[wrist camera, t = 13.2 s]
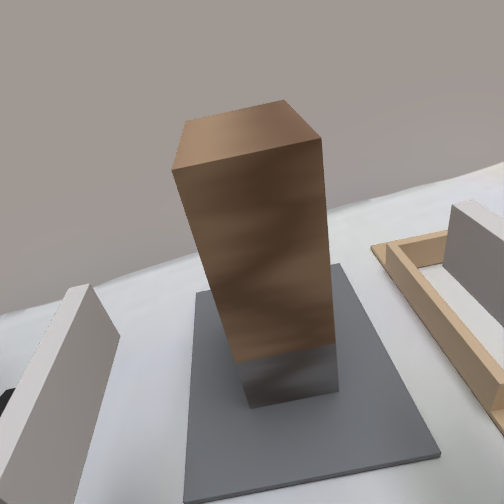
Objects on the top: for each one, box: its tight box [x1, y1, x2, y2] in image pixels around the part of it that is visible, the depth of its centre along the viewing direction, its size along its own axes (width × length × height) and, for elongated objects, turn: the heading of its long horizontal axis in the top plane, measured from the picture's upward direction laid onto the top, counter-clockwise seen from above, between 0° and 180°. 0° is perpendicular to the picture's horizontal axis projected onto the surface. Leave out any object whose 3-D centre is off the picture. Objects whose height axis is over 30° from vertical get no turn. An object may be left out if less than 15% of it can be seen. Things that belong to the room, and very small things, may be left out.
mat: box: [183, 263, 441, 504], centre depth 22 cm, size 12×15×1 cm
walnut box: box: [172, 100, 339, 409], centre depth 18 cm, size 5×7×14 cm
